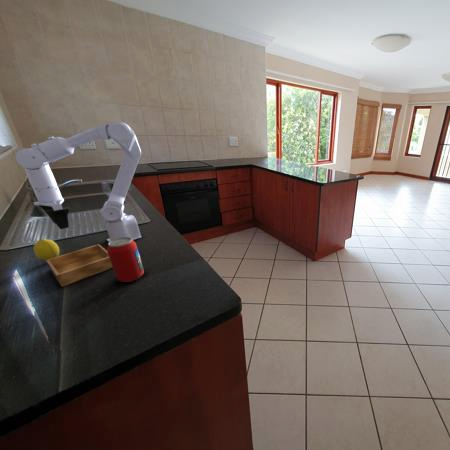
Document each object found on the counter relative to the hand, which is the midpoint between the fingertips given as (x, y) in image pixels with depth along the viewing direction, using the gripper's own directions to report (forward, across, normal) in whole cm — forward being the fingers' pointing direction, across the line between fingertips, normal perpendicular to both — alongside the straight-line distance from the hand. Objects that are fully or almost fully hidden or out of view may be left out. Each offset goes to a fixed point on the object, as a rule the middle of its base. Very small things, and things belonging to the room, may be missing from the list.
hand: (61, 225), depth 82 cm
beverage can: (+10, +36, +6) cm, 38 cm away
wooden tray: (+9, +19, -1) cm, 21 cm away
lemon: (+10, +5, -6) cm, 12 cm away
